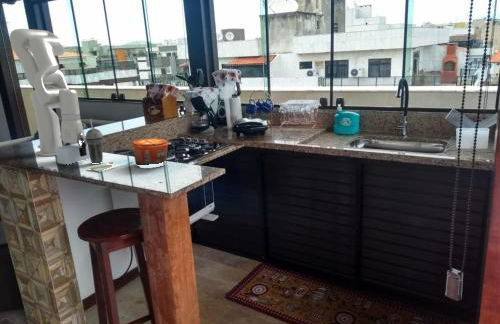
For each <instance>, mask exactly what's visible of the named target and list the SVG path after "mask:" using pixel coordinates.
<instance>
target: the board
mask: <svg viewBox="0 0 500 324" xmlns="http://www.w3.org/2000/svg"><path fill="white" fill-rule="evenodd" d="M113 161H114V160H112V161H108V163H109V164H113ZM106 164H107V162H103V163H102V164H96V165H93V166H90V167H87V168H86V170H87V169H91V170H97V171H102V170H104V169H107V168H110V167H112V165H106Z"/></svg>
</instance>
